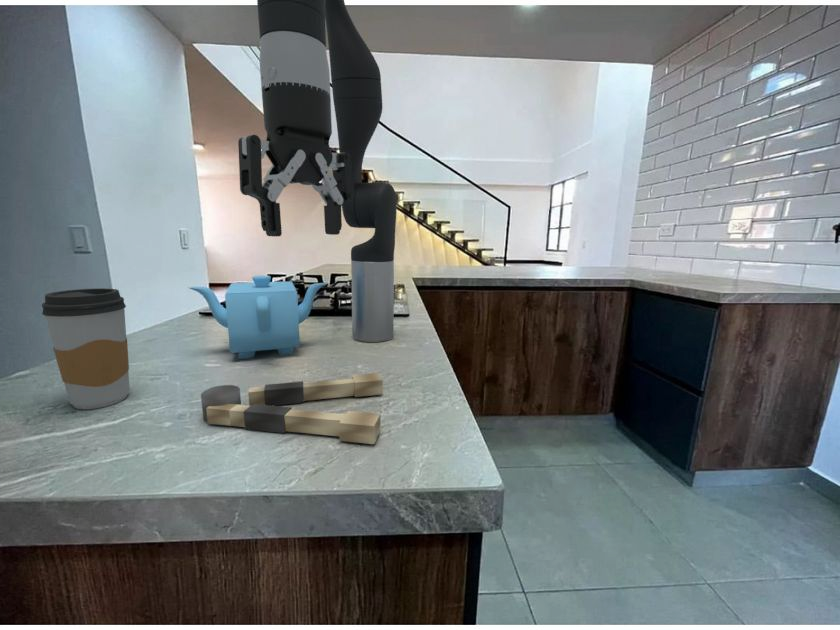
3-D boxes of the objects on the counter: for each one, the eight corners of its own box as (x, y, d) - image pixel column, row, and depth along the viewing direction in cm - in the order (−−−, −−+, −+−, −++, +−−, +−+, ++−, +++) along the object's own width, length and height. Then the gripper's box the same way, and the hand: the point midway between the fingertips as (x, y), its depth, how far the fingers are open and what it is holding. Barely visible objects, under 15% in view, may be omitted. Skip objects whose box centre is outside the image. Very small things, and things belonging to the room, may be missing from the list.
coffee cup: (128, 383, 59) (114, 286, 55) (147, 398, 53) (131, 292, 50) (54, 400, 52) (33, 292, 49) (67, 420, 47) (44, 300, 44)
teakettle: (267, 370, 65) (261, 284, 62) (190, 355, 72) (182, 277, 69) (333, 342, 82) (331, 274, 79) (266, 332, 89) (261, 268, 86)
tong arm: (248, 408, 51) (247, 392, 50) (251, 399, 54) (250, 383, 53) (382, 395, 56) (382, 380, 55) (378, 387, 59) (378, 372, 58)
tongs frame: (186, 427, 46) (183, 402, 45) (218, 406, 52) (216, 383, 51) (373, 446, 43) (373, 420, 42) (386, 421, 49) (386, 397, 48)
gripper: (326, 110, 51) (331, 233, 55) (217, 79, 41) (233, 235, 44) (365, 100, 47) (367, 235, 51) (254, 62, 36) (268, 238, 40)
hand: (305, 235), depth 48 cm, fingers open, 8 cm apart
